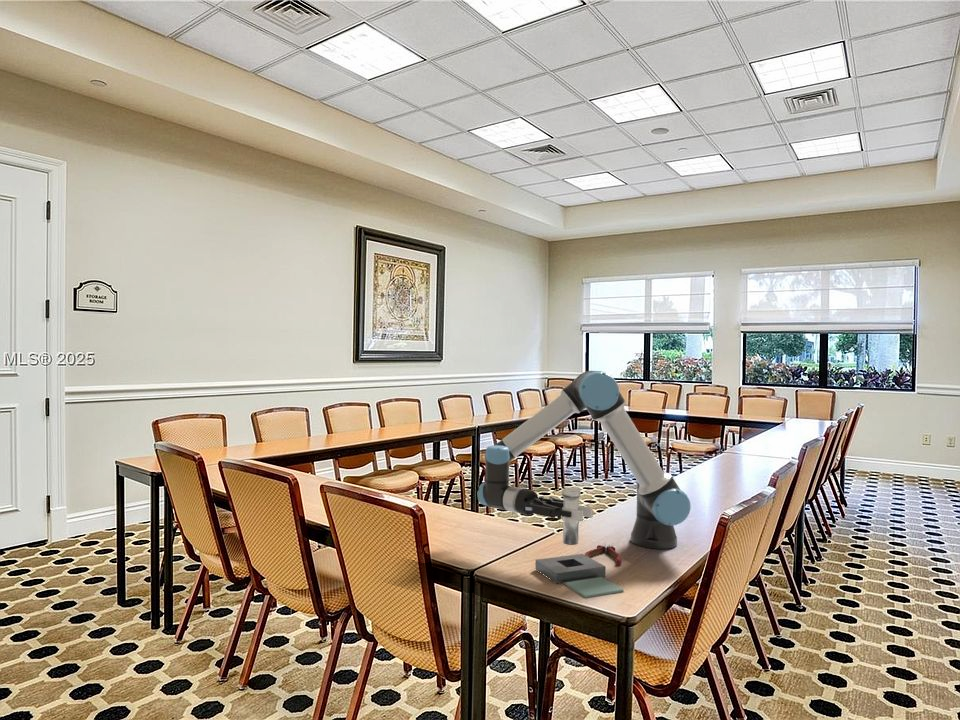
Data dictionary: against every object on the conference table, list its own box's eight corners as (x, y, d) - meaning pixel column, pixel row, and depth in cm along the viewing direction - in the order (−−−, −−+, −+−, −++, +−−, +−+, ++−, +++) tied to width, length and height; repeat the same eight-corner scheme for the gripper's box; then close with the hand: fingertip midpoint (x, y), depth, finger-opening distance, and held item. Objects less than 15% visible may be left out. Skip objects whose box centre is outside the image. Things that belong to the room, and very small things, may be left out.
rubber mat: (601, 579, 173) (601, 576, 173) (623, 591, 164) (623, 589, 164) (564, 584, 168) (564, 582, 168) (585, 597, 159) (585, 595, 159)
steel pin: (573, 539, 181) (574, 488, 181) (583, 544, 176) (584, 491, 176) (558, 541, 179) (558, 489, 179) (567, 546, 174) (568, 493, 174)
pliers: (626, 548, 203) (626, 540, 203) (620, 568, 184) (621, 559, 184) (591, 545, 207) (591, 537, 207) (582, 564, 188) (582, 555, 188)
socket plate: (582, 563, 186) (582, 553, 186) (605, 576, 175) (605, 566, 175) (535, 570, 180) (535, 559, 180) (556, 584, 169) (556, 573, 169)
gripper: (537, 508, 196) (602, 522, 180) (503, 518, 183) (569, 534, 167) (538, 484, 196) (603, 496, 180) (503, 493, 183) (570, 506, 167)
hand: (587, 514), depth 174 cm, fingers closed on steel pin, 4 cm apart
